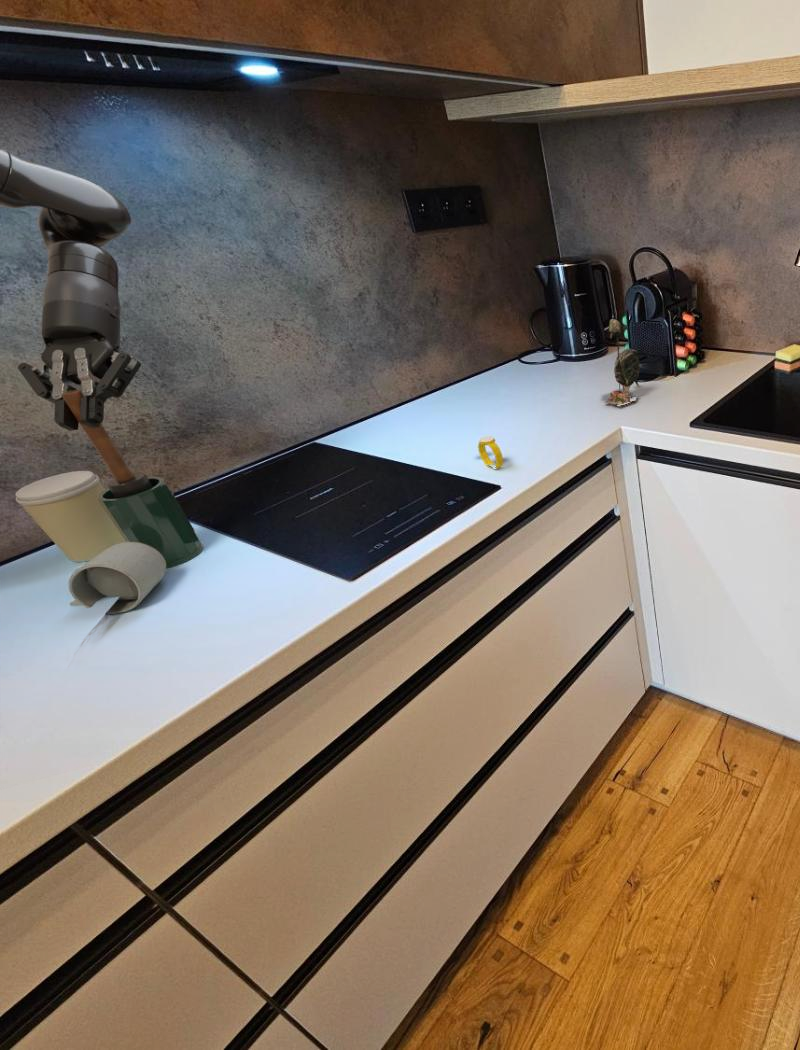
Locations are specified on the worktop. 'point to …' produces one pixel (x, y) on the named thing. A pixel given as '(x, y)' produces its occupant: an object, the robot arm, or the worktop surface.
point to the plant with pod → (623, 368)
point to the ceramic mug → (118, 576)
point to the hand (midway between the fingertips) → (79, 426)
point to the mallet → (109, 454)
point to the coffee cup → (71, 513)
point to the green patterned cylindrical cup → (154, 522)
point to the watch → (491, 443)
